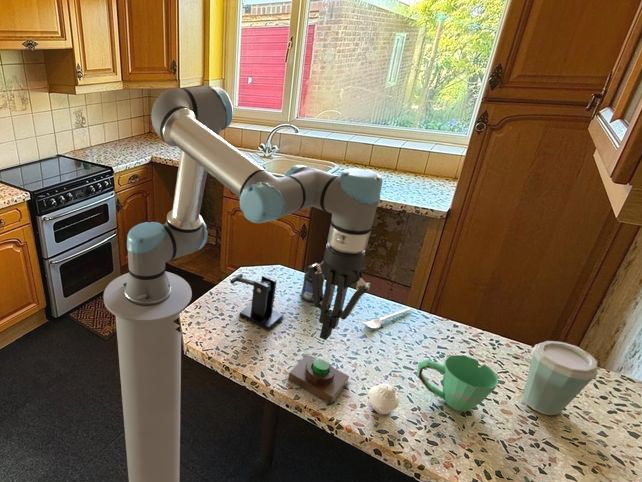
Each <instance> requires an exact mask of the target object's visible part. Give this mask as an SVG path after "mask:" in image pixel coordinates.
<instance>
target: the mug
mask: <svg viewBox="0 0 642 482" xmlns="http://www.w3.org/2000/svg"><path fill="white" fill-rule="evenodd" d="M424 369H431V370H435V371H437V372H439V373H441V374H443V377H442V389H440V388H438V387H437V386H435V385H433V384H432V383H430V382H429V380H428V379H427V378H426V377H425V375H424V373H423V371H424ZM416 376H417V378H418V379H419V380H420V381H421V383H422V385H424V387H425V388H426V390H427V391H429V392H430V393H432V394H434V395H435V396H437V397H439V398H440V399H442V400H443V401H444V402H445V404H446V405H447V406H448V407H450V408H451V409H452V410H454V411H456V412H461V413H467V412H468V411H470V410H472V409H474V408H476V407H477V406H479V404H481V403H482V402H483V401H485V400H486V398H488V396H489V395H491V393H492V392H493V391H495V390H496V388H497V386H498V385H499V384H500V383H499V377H498V375H497V374H496V372H495V371H494V370H493V369H492V368H491V367H489V366H488V365H486V364H483V365H481V366H479V360H478V359H475V358H473V357H469V356H467V355H466V356H465V355H458V354H457V355H451V356H448V357H446V359H445V360H444V363H443V364H441V363H439V362H436V361H434V360H430V359H424V360H421V361H419V362H418V364H417V371H416Z"/></svg>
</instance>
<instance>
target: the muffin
mask: <svg viewBox="0 0 642 482" xmlns="http://www.w3.org/2000/svg"><path fill="white" fill-rule="evenodd" d="M368 399H369V403H370V405H371V407H372V409H373V411H374V412H376V413H377V414H379V415H388V414H390V413H391V412H393V411H395V410H396V409H397V408H398V406H399V404H400V399H399V396H398V394H397V393H396V391H395V388H394V387H393V386H392V385H390V384H389V383H384V382H382V383H378V385H374V386H372V387H370V389H369V390H368Z"/></svg>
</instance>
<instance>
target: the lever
mask: <svg viewBox="0 0 642 482" xmlns="http://www.w3.org/2000/svg"><path fill="white" fill-rule="evenodd" d="M254 281H255V280H252V279H249V278H244V275H243V274H242V273H239V274H238V275H236V276H234V277H233V278H232V279H231V280H229V282H230V284H232V285H233V284H235V283H237V282H239V283H241V284H245V285H250V286H253V287H254ZM259 282H261V283H263V284H266V285H268V286H269V291H270V290H271V282H268V281H264V280H262V281H261V280H260V281H259Z"/></svg>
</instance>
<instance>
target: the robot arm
mask: <svg viewBox="0 0 642 482" xmlns="http://www.w3.org/2000/svg"><path fill="white" fill-rule="evenodd" d="M233 107H234V106H233V103H232V101H231V99H230V96H229V94H228V93H227V91H226V90H224V89H223V88H222V87H220V86H217V85H201V86H191V87H177V88H170V89H167V90H165V91H163V92H162V93H161V94H160V95H159V96H158V97H157V98H156V99H155V101H154V103H153V105H152V109H151V113H150V118H151V124H152V127H153V130H154V132H155V133H156V135H157V136H158V137H159V138H160V139H161V140H162V141H163V142H164V143H166V144H167V145H168V146H170V147H173V148H175V147H176V148H178V149H180V154H179V162H178V168H177V175H176V184H175V189H174V198H173V205H172V209H171V210H170V211H169V212H167V215H166V220H165V223H164V224H162V223H160V222H157V221H150V222H148V221H145V222H141V223H137V224H136V225H134V226H133V227H131V229H129V231H128V233H127V237H126V249H127V262H128V273H129V275H128V279H127V283H124V284H123V285H124V286H125V289H124V291H125V297H126V299H127V300H128V301H130V302H131V303H133V304H136V305H140V306H153V305H157V304H160V303H163V302H164V301H166V300H167V299H168V298H169V297H170V295H171V286H170V283H169V280H168V277H167V275H166V272H167V271H166V263H167V262H170V261H172V260H175V259H178V258H181V257H184V256H188V255H191V254H193V253H196V252H197V251H199V250H201V249H202V248H203V247H204V246H205V245H206V243H207V240H208V230H207V224H206V223H205V221H204V219H203V217H202V215H201V214H200V213H201V208H202V202H203V197H204V192H205V191H204V190H205V186H206V181H207V175H208V173H209V174H210V175H211V176H212V177H213V178H215V179H216V180H217V181H218V182H220V184H222V185H223V186H224V187H226V188H227V189H228V190H229V191H230V192H232V193H233V194H234V195H235V196H237V197H238V198H239V209H240V211H241V212H242V213H243V216H244V217H245V219H247V220H248V221H249V222H250V223H254V224H263V223H264V224H265V223H268V222H273V221H276V220H278V219H280V218H283V217H286V216H288V215H291V214H294V213H296V212H297V213H298V212H300V211H303V210H306V209H308V208H315V209H318V210H321V211H324V212H326V213H330V214H331V221H330V226H329V230H328V235H327V242H326V245H325V249H324V254H323V259H322V261H321V262H320V263H317V262H315V263H312V264H311V265H312V266H310V267H309V271H310V274H311V276H312V289H313V302H312V304H313V307H315V308H317V309H319V310H320V314H319V319H318V322H319V324H322V325H321V329H320V335H319V338H320V339H322V340H324V341H327V340H328V338H329V337H331V335H332V332H333V330H335V329H336V328H337V326H338V325H339V322H340V319H341V320H346V319H347V318H348V317H349V316H350V314H351V313H352V312H353V310H354V309H355V307H356V305H357V304H358V303H359V301H360V299H361V297H362V296H363V295H364V294H367V292H368V291H369V290H370V289H371V288H372V283H370V282H366V281H365V279H363V278H362V277H363V273H362V267H363V263H364V259H365V255H366V250H367V249H368V243H369V240H370V235H371V232H372V228H373V223H374V219H375V217H376V212H377V209H378V205H379V203H380V201H381V193H382V188H383V177H382V175H380V174H379V173H378V172H375V171H373V170H370V169H362V168H347V169H344V170H343V171H342V172H341V173H340V175H337V174H334V173H330V172H328V171H324V170H321V169H318V168H316V167H312V166H309V165H302V164H296V165H293V166H291V168H290V169H289V170H287V171H286V172H285V174H284V176H281V177H276V176H275V175H273V174H271V173H270V172H268V171H267V170H265V168H263V167H262V166H260V165H259V164H257V163H256V162H255V161H253V160H252V159H251V158H250V157H248V156H246V155H245V154H244V153H242V152H241V151H240V150H239V149H237V148H235V146H233V145H231V144H230V143H229V142H227V141H226V140H225V139H224V138H222V137H221V132H222V131H224V130H226V129H227V128H228V127H230V126H231V123H232V121H233V119H234V118H233V117H234V108H233ZM165 271H166V272H165ZM321 272H323V275H324V278H325V282H324V284H322V273H321ZM354 284H356V285H355V290H356V291H355V292H354V293H353V294H352V296H351V298H350V300H349V301H348V302H347V304H346V306H345V307H344V305H345V300H346V295H347V292H348V289H349V287H351V286H352V285H354ZM335 289H336V290H335ZM335 291H336V295H335V299H334V294H335ZM333 299H334V303H333ZM332 303H333V306H332ZM332 307H333V308H332ZM331 308H332V309H331Z"/></svg>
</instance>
